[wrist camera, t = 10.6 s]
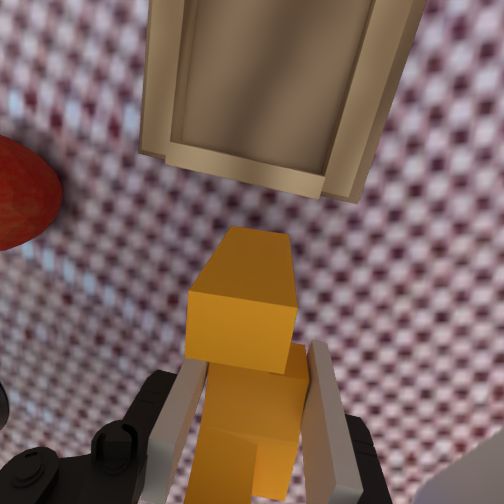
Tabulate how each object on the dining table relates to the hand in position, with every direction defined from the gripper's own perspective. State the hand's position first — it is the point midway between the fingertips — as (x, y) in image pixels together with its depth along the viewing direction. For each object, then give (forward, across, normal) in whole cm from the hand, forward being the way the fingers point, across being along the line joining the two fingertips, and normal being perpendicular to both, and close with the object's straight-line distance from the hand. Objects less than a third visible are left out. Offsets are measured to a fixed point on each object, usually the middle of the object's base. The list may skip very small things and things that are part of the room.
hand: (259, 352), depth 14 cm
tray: (+10, -3, +16) cm, 19 cm away
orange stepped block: (+1, 0, 0) cm, 1 cm away
